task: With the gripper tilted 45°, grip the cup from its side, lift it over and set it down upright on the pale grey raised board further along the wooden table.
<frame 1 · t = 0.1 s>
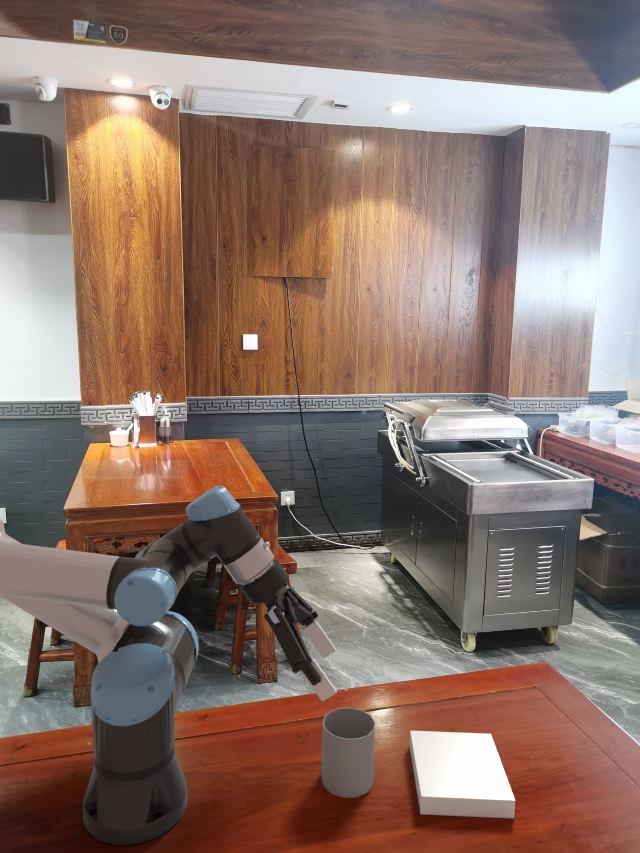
hand: (329, 673, 108), 15 cm above the table, tool tilted 35°, fingers open, 13 cm apart
raised board: (457, 779, 105), on the table
cup: (347, 780, 105), on the table
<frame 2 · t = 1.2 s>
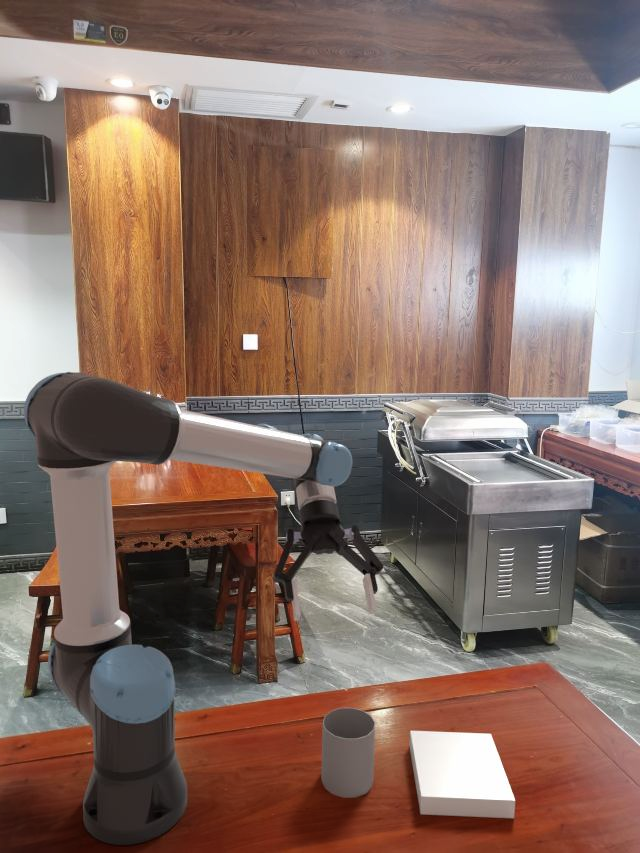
hand: (335, 614, 113), 23 cm above the table, tool tilted 45°, fingers open, 13 cm apart
nothing on the table moved.
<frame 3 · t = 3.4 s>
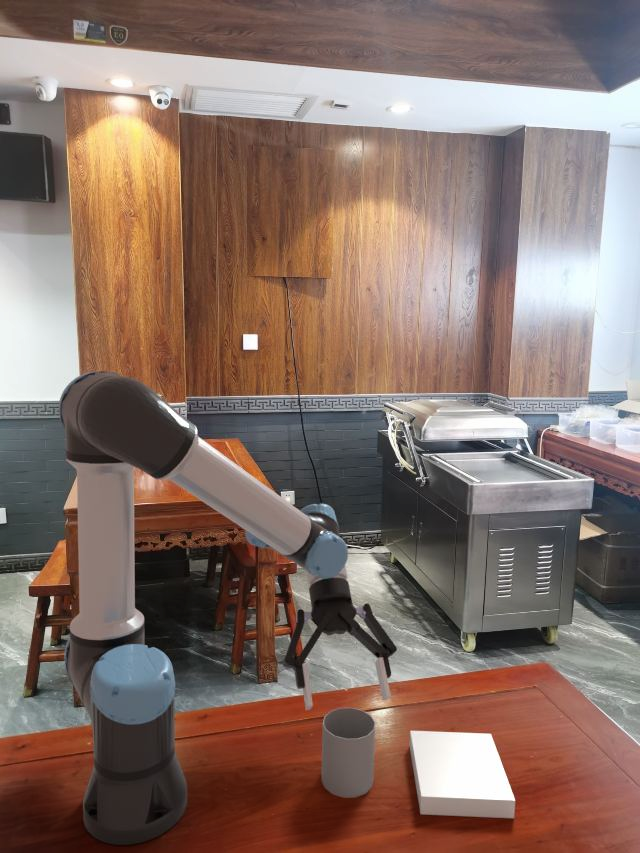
hand: (348, 703, 109), 10 cm above the table, tool tilted 45°, fingers open, 13 cm apart
nothing on the table moved.
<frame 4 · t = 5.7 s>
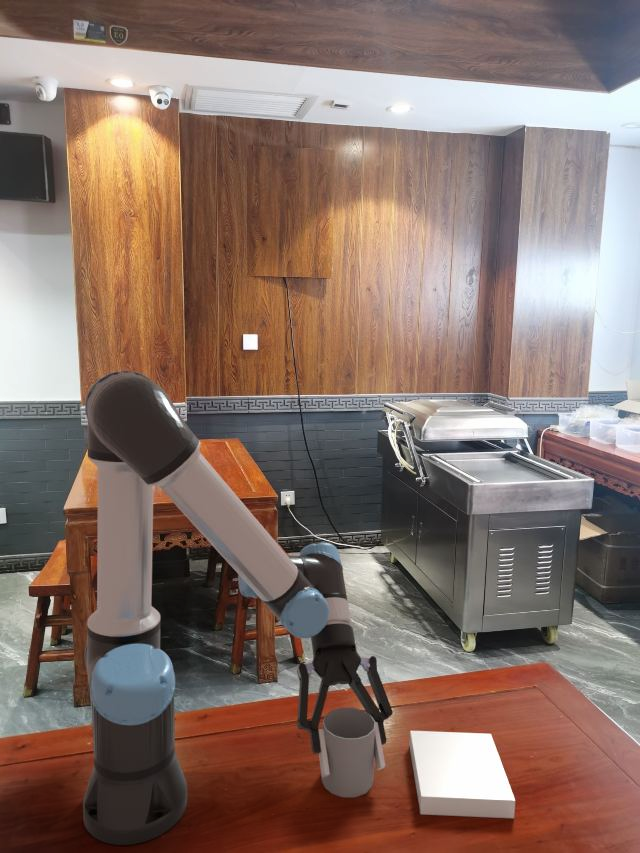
hand: (353, 771, 101), 4 cm above the table, tool tilted 45°, fingers closed on cup, 8 cm apart
cup: (347, 780, 105), on the table, touching gripper
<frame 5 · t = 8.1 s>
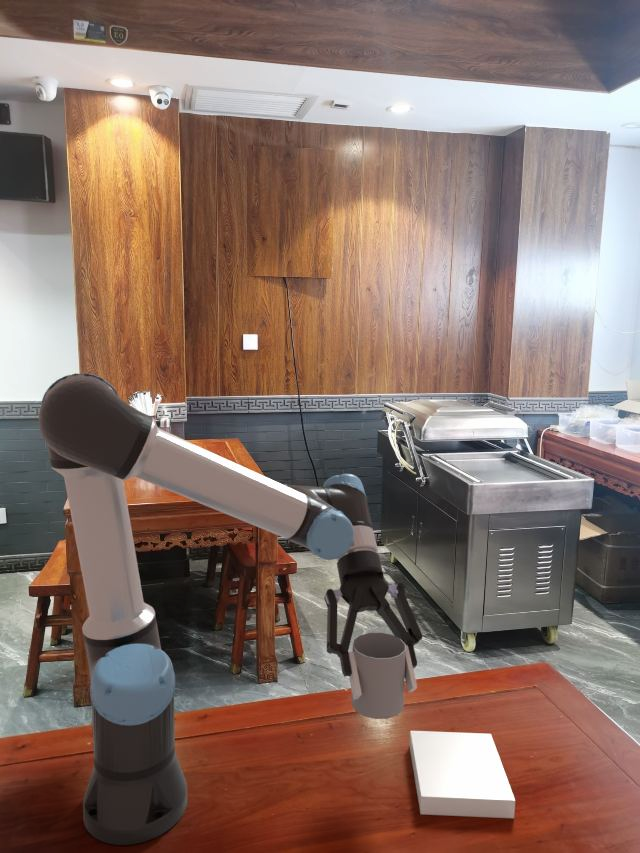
hand: (385, 693, 100), 17 cm above the table, tool tilted 45°, fingers closed on cup, 8 cm apart
cup: (377, 704, 104), point 13 cm above the table, touching gripper
when the fingers open (8 cm above the table, at t = 10.8 s): cup stays where it is, resting on raised board.
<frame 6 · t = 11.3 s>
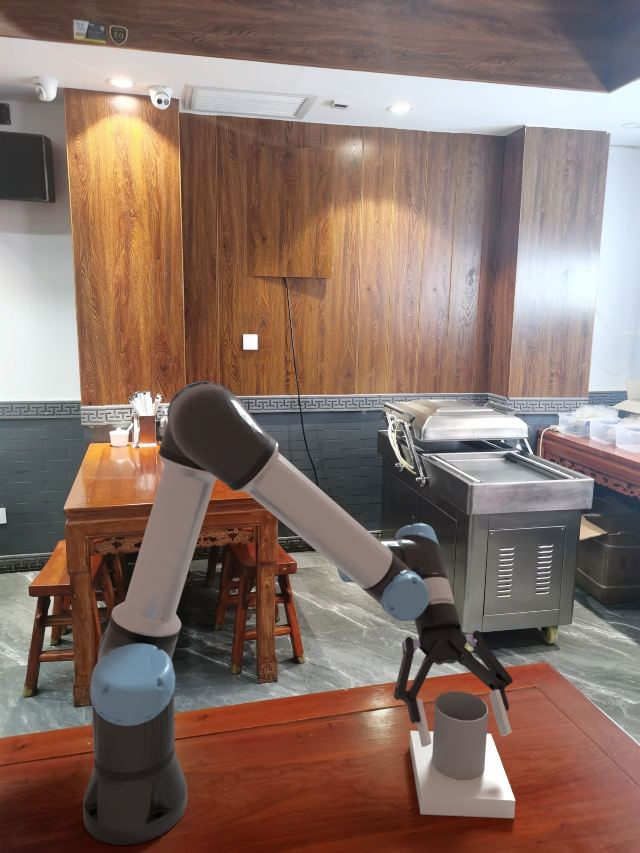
hand: (467, 739, 102), 9 cm above the table, tool tilted 45°, fingers open, 13 cm apart
cup: (457, 763, 105), point 3 cm above the table, touching raised board
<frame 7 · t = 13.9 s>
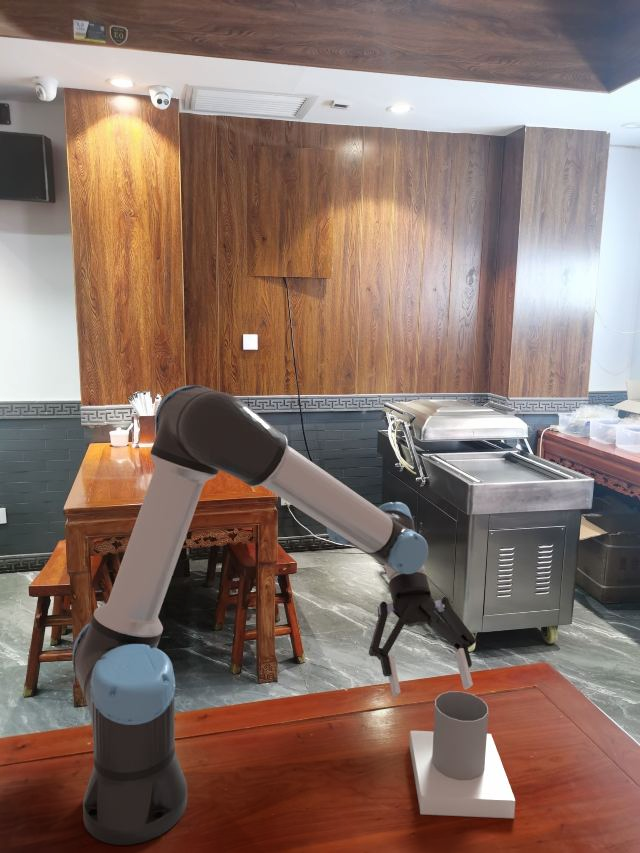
hand: (433, 691, 114), 9 cm above the table, tool tilted 45°, fingers open, 13 cm apart
nothing on the table moved.
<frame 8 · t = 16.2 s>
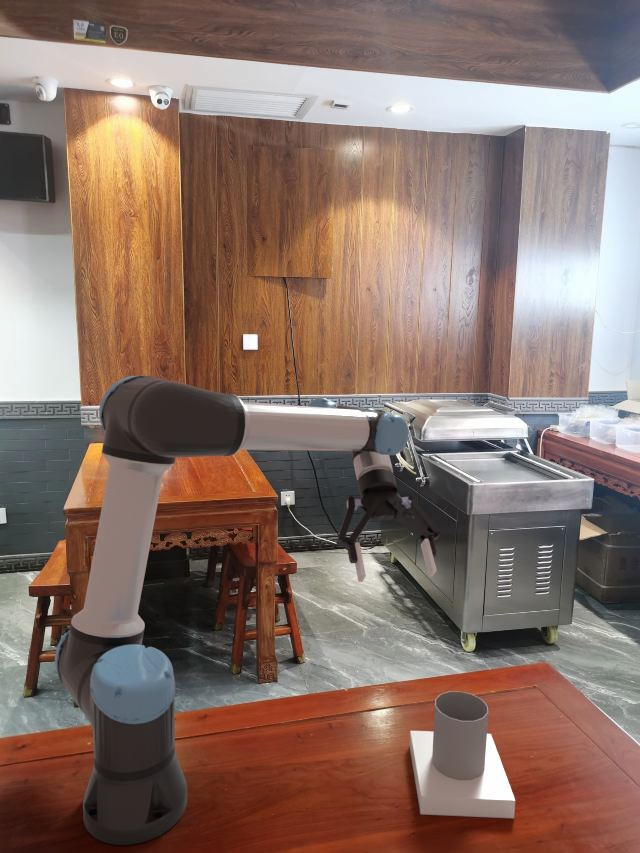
hand: (397, 576, 118), 28 cm above the table, tool tilted 45°, fingers open, 13 cm apart
nothing on the table moved.
at the end: cup inside the target area on the raised board (0.1 cm from its centre), point 2.8 cm above the raised board's base; cup tilted 0°; the gripper is holding nothing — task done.
